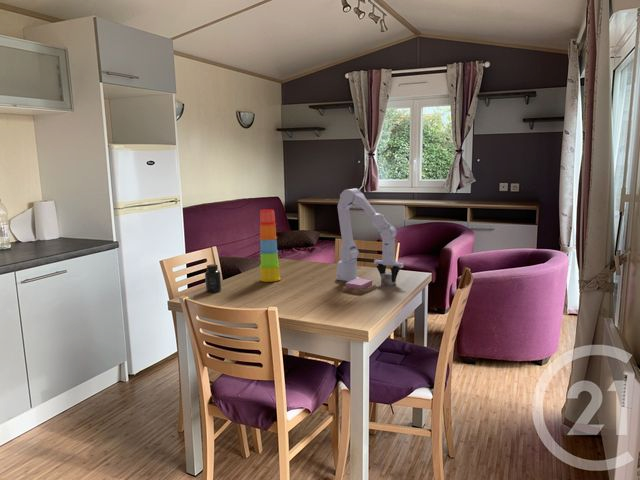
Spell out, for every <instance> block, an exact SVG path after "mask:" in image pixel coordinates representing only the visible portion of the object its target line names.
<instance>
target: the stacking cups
mask: <svg viewBox="0 0 640 480" xmlns="http://www.w3.org/2000/svg"><path fill="white" fill-rule="evenodd" d="M275 215H276V214H275V211H274V209H260V211H259V220H260V223H259V233H260V234H259V235H260V236H259V242H260V243H259V245H260V246H259V247H260V251H259V254H260V264H259V267H260V275H261V277H260V278H259V280H260V282H263V283H264V282H265V283H268V282H271V283H273V282H277V281H278V282H279V281H280V280H281V279H282V277H280V263H279V256H278V255H279V254H278V253H279V250H278V242H277V239H278V236H277V230H276V225H277V223H276V216H275Z"/></svg>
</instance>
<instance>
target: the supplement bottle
mask: <svg viewBox="0 0 640 480" xmlns="http://www.w3.org/2000/svg"><path fill="white" fill-rule="evenodd" d="M206 270H207V271H206V272H205V273H204V275H205V276H204V280H205V281H204V282H205V291H206V292H207V293H211V294H212V293H213V294H215V293H219V292H221V290H222V279H221V276H222V275H221V272H220V270H219V268H218V264H215V263H214V264H208V265H207V264H206Z"/></svg>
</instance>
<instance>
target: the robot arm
mask: <svg viewBox="0 0 640 480" xmlns="http://www.w3.org/2000/svg"><path fill="white" fill-rule="evenodd" d="M353 205H357V206H359V207H360V208H362V209H363V211H364V212H365V213H366V214H367V215H368V217H370V223H372V224H373V225H374V227H375V228H376V229H377V231H378V232H379V233H380V234H379V235H380V238H381V239H382V245H381V246H382V251H381V252H382V253H381V255H382V257H381V258H382V259H373V260H374V261H373V265H376V269H377V271H378V273H379V276H380V277H381V274H382V273H385V272H387V271H386V270H387V269H386V268H387V267H390V272H391V273H392V282H395V281H396V282H397V276H398V273H399V272H400V270H401V269H402V268H404V263H403V262H399V261H396V260H395V259H396V257H395V256H396V254H395V253H396V238H395V237H396V236H397V235H398V231H397V229H396V227H395V226H394V225H392V224H391V223H389V222H388V221H387V220H386V218H385V215H384V214H382V213H377V211H376V210H375V209H374V206H372V205H371V204H370V202H369V201H368V199H367V198H366V196H365V194H364V193H363V192H362V191H361V190H360V189H359V188H358V187H357V188H356V187H354V188H350V189H349V188H347V189H344V190H342V192H341V193H340V194H339V200H338V203H337V213H338V221H339V229H340V235H341V245H340V247H339V249H340V251H339V255H338V257H339V261H338V262H337V264H336V278H335V280H339V281H344V282H349V281H351V280H354V279H356V278H360V279H361V277H359V276H358V268H357V267H358V264H357V263H358V260H357V259H358V257H359V255H360V251H359V250H358V247H357V244H356V242H355V241H354V238H353V237H354V236H353V230H352V223H351V222H352V220H351V214H350V208H351V207H352V206H353Z"/></svg>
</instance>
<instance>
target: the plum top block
mask: <svg viewBox="0 0 640 480" xmlns="http://www.w3.org/2000/svg"><path fill="white" fill-rule="evenodd" d="M372 284H373V280H371V279H365V278H361V277H360V278H356V279H354V280H351V281H345V286H346V287H347V288H353V289H360V290H362V289H364V288H366V287H368V286H370V285H372Z"/></svg>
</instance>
